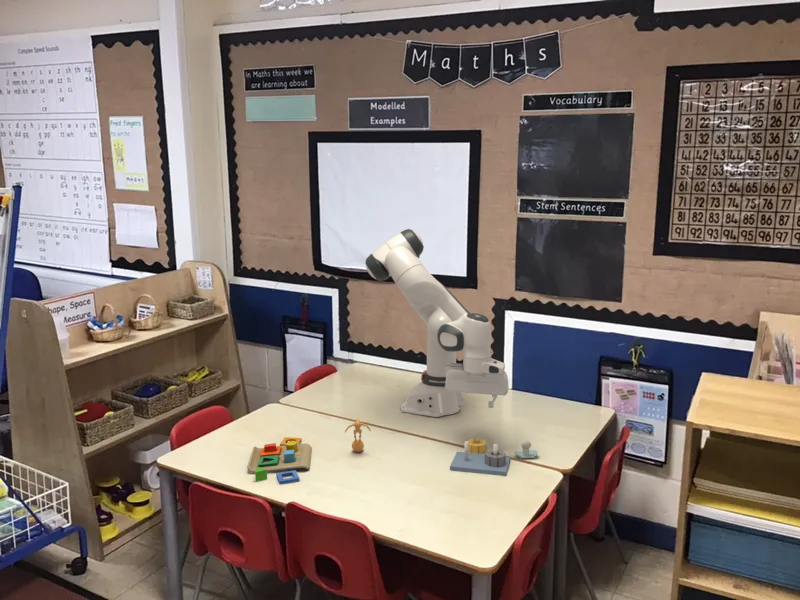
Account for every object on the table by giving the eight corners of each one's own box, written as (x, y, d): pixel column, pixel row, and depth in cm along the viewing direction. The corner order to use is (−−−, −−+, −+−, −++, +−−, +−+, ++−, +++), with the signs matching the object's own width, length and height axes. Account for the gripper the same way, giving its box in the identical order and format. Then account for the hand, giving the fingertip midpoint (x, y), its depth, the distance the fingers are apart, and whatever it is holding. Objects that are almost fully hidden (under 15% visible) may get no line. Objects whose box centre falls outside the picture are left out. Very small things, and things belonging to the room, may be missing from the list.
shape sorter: (256, 441, 239) (256, 428, 239) (313, 439, 241) (312, 426, 240) (243, 486, 207) (242, 471, 206) (308, 483, 208) (307, 468, 207)
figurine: (370, 448, 233) (369, 413, 231) (371, 455, 227) (370, 420, 225) (344, 449, 232) (344, 415, 230) (345, 457, 226) (344, 421, 224)
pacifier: (511, 454, 228) (516, 461, 222) (511, 435, 227) (516, 442, 221) (533, 453, 229) (539, 460, 223) (534, 434, 228) (539, 441, 222)
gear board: (449, 469, 216) (450, 447, 215) (457, 455, 227) (457, 433, 226) (505, 475, 211) (506, 453, 210) (510, 460, 223) (510, 438, 222)
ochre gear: (465, 453, 228) (465, 444, 228) (468, 446, 234) (468, 437, 234) (484, 455, 227) (484, 446, 226) (487, 448, 233) (487, 439, 232)
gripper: (442, 365, 225) (442, 406, 228) (507, 369, 220) (506, 411, 222) (447, 360, 231) (446, 400, 234) (509, 364, 226) (508, 405, 228)
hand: (476, 406), depth 228 cm, fingers open, 8 cm apart
